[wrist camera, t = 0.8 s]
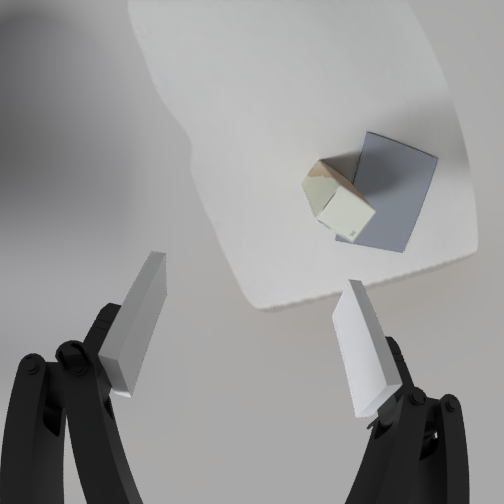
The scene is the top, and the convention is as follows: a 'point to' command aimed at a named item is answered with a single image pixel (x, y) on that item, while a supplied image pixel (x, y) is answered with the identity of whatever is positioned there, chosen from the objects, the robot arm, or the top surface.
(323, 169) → the box
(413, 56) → the top surface
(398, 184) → the mat
